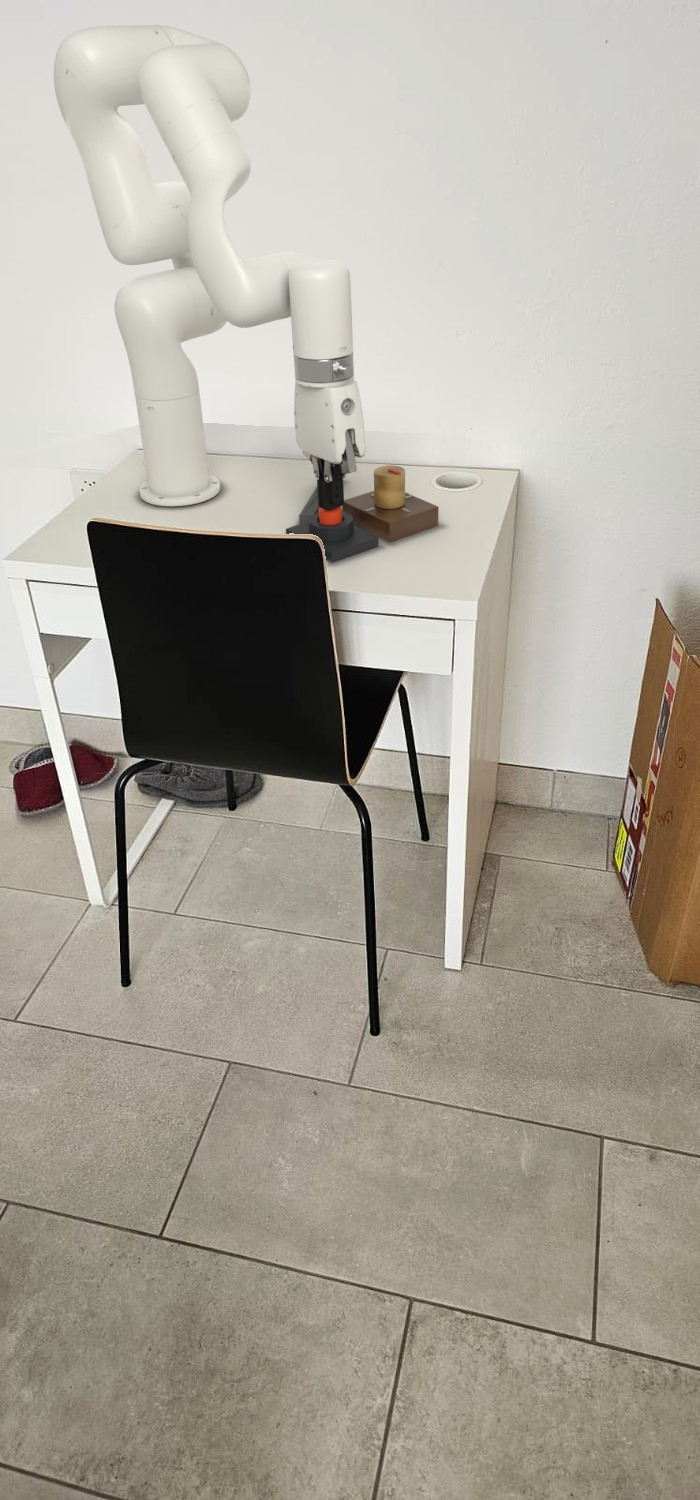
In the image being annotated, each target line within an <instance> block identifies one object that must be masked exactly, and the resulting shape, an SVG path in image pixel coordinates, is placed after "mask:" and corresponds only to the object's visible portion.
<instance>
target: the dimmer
mask: <svg viewBox="0 0 700 1500" xmlns="http://www.w3.org/2000/svg"><path fill="white" fill-rule="evenodd" d="M341 507H342V512H345V513H348V514H350V515H352V518H353V525H354V526H356V527H358V528H360V529H362V530H364V531H366V532H368V533H370V534H373V535H375V536H377V537H378V539H380V540H383V541H385V542H387V543H389V544H390V543H394V542H396V541H399V540H402V539H405V538H408V537H411V536H415V535H416V534H419V533H423V532H425V531H428V530H430V529H435V528H437V527H439V505H436V504H433V503H431V502H429V501H428V500H424V499H422V498H419V497H417V496H415V495H413V494H410V493H408V492H406V491H405V504H404V505H403V506H402V507H399V508H394V509H384V508H379V507H377V506H376V505H375V503H374V490H373V491H369V492H366V493H363V494H360V495H356V496H354V497H350V498H347V499H344V504H343V506H341Z"/></svg>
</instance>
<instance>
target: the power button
mask: <svg viewBox="0 0 700 1500" xmlns="http://www.w3.org/2000/svg"><path fill="white" fill-rule="evenodd" d="M319 523H321V524H325V525H335V524H338V523H342V506H340V507H337V508H334V509H330V510H325V509H323V508H319Z"/></svg>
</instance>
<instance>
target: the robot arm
mask: <svg viewBox="0 0 700 1500" xmlns="http://www.w3.org/2000/svg"><path fill="white" fill-rule="evenodd" d="M53 63H54V64H53V85H54V92H55V98H56V100H57V104H58V108H59V110H60V113H61V116H62V118H63V120H64V123H65V125H66V128H67V130H68V132H69V134H70V136H71V138H72V140H73V143H74V144H75V147H76V149H77V151H78V154H79V156H80V160H81V162H82V165H83V168H84V172H85V175H86V180H87V184H88V187H89V191H90V193H91V197H92V200H93V204H94V208H95V211H96V215H97V218H98V221H99V225H100V228H101V231H102V235H103V238H104V241H105V243H106V246H107V248H108V251H109V252H110V254H111V256H112V258H113V259H114V260H115V261H116V262H118V263H120V264H122V265H124V266H141V265H147V264H153V263H157V262H163V261H166V260H171V262H172V265H173V267H174V268H173V269H169V270H168V269H167V270H161V271H157V272H152V273H147V274H144V275H140V276H136V277H135V278H132V279H130V280H128V281H127V282H126V283H125V284H123V285H122V286H121V287H120V289H119V290H118V292H117V293H116V296H115V299H114V315H115V321H116V324H117V327H118V330H119V333H120V335H121V338H122V341H123V345H124V348H125V351H126V355H127V358H128V363H129V369H130V373H131V378H132V379H131V380H132V385H133V391H134V398H135V403H136V404H135V405H136V411H137V416H138V418H137V419H138V424H139V430H140V437H141V443H142V451H143V456H144V457H143V458H144V460H143V462H142V465H143V467H144V468H145V469H146V477H147V480H146V481H144V482H143V483H141V485H140V486H139V489H138V490H139V496H140V498H141V500H143V502H145V503H148V504H150V505H154V506H159V507H183V506H185V507H186V506H191V505H196V504H201V503H203V502H206V501H208V500H211V499H213V498H214V497H215V496H217V495H218V494H219V493H220V491H221V481H220V480H219V478H217V477H216V476H215V475H213V474H210V471H209V461H208V455H207V454H208V453H207V446H206V445H207V444H206V437H205V428H204V420H203V412H202V403H201V402H202V401H201V394H200V387H199V378H198V374H197V371H196V368H195V365H194V364H193V363H192V361H191V359H190V358H189V357H188V355H187V354H186V353H185V351H184V349H183V348H182V343H184V342H187V341H190V340H193V339H197V338H200V337H204V336H207V335H210V334H214V333H216V332H219V331H220V330H221V329H223V328H224V326H225V325H226V324H227V323H229V324H230V325H232V326H234V327H237V328H241V329H249V328H253V327H257V326H261V325H264V324H268V323H271V322H274V321H281V320H284V319H289V318H290V322H291V338H292V351H293V352H292V353H293V366H294V380H295V381H294V394H293V395H294V399H293V407H294V408H293V411H294V412H293V413H294V414H293V416H294V417H293V418H294V433H295V438H296V439H295V441H296V445H297V447H298V448H299V449H300V450H301V451H302V455H303V456H304V457H306V458H307V459H308V460H309V461H310V463H311V464H312V469H313V475H314V478H316V485H317V486H316V488H317V489H318V505H319V507H320V508H323V509H325V510H330V509H334V508H337V507H340V506H341V507H342V506H343V504H344V500H345V494H344V491H345V490H344V479H345V478H346V476H347V475H348V474H352V473H356V472H357V470H358V468H357V461H356V458H363V457H364V456H365V454H366V435H365V422H364V414H363V413H364V412H363V406H362V405H363V404H362V400H361V393H360V390H359V385H358V381H357V380H355V366H354V363H355V362H354V342H353V338H354V336H353V314H352V313H353V311H352V284H351V273H350V272H351V271H350V269H349V266H347V264H346V263H345V262H344V261H342V260H338V259H334V258H333V259H332V258H315V257H312V256H309V255H307V254H305V253H302V252H298V251H292V250H291V251H290V250H285V251H280V252H276V253H272V254H265V255H260V256H255V257H251V258H246V259H241V256H240V255H239V253H238V252H237V250H236V248H235V246H234V244H233V242H232V240H231V237H230V235H229V233H228V229H227V226H226V222H225V221H226V220H225V204H226V203H227V202H228V201H229V200H230V199H231V198H232V197H234V195H236V194H237V193H238V192H239V191H240V190H241V189H242V187H243V186H244V185H245V184H246V183H247V181H248V179H249V177H250V175H251V172H252V160H251V158H250V155H249V153H248V151H247V150H246V148H245V146H244V144H243V142H242V140H241V138H240V136H239V134H238V131H237V130H236V128H235V126H234V124H233V122H235V121H239V120H240V119H241V118H243V116H244V115H245V113H246V112H247V111H248V108H249V107H250V102H251V96H252V95H251V94H252V91H251V90H252V89H251V80H250V77H249V74H248V71H247V68H246V66H245V64H244V63H243V61H242V60H241V58H240V57H239V56H238V54H237V53H236V52H235V51H233V49H231V47H228V46H227V45H225V44H223V43H221V42H218V41H215V40H212V39H208V38H206V37H203V36H200V35H197V34H193V33H192V32H189V31H186V30H183V29H180V28H177V27H173V26H169V25H161V24H153V25H152V24H148V25H147V24H146V25H143V24H142V25H141V24H140V25H100V26H99V25H97V26H91V27H86V28H85V27H84V28H82V29H79V30H76V31H74V32H72V33H70V34H68V35H67V36H66V37H65V38H64V39H63V40H62V41H61V42H60V44H59V46H58V48H57V51H56V54H55V58H54V62H53ZM141 105H144V106H145V108H146V109H147V111H148V113H149V115H150V117H151V119H152V121H153V123H154V125H155V128H156V129H157V131H158V134H159V135H160V137H161V139H162V141H163V143H164V145H165V147H166V148H167V150H168V152H169V154H170V156H171V158H172V160H173V162H174V164H175V166H176V168H177V170H178V172H179V174H180V176H181V178H182V180H183V182H182V181H165V182H164V181H163V182H158V183H156V182H155V181H154V178H153V176H152V172H151V169H150V166H149V162H148V158H147V154H146V150H145V148H144V145H143V143H142V142H141V139H140V138H139V136H138V135H137V133H136V132H135V130H134V129H133V127H132V126H131V125H130V124H129V122H127V120H126V119H125V118H124V117H123V116H122V115H121V114H120V113H119V112H118V109H119V107H125V106H126V107H127V106H141ZM335 464H336V465H335Z"/></svg>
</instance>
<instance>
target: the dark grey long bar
mask: <svg viewBox="0 0 700 1500" xmlns="http://www.w3.org/2000/svg"><path fill="white" fill-rule="evenodd" d="M335 465H336V464H335ZM319 508H320V507H319V505H318V489H317V487H316V488H315V489H314V491H313V493H312V494H311V495H310V497H309V499H308V500H307V501H306V504H305V506H304V507H303V508H302V510H301V512H300V513H299V514H298V519H299V520H298V521H299V522H298V523H299V524H302V523H305V522H308V519H309V518H310V517H311V516H312V515H314V514H317V513H319Z"/></svg>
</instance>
